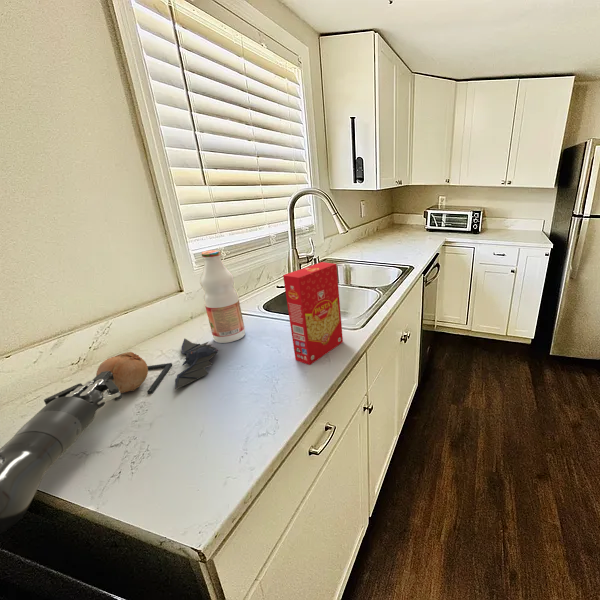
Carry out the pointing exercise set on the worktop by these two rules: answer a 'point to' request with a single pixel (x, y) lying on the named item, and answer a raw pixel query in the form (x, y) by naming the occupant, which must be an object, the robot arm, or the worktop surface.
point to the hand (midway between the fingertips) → (107, 374)
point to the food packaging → (314, 311)
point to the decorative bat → (194, 362)
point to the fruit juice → (221, 299)
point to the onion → (125, 370)
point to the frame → (161, 376)
